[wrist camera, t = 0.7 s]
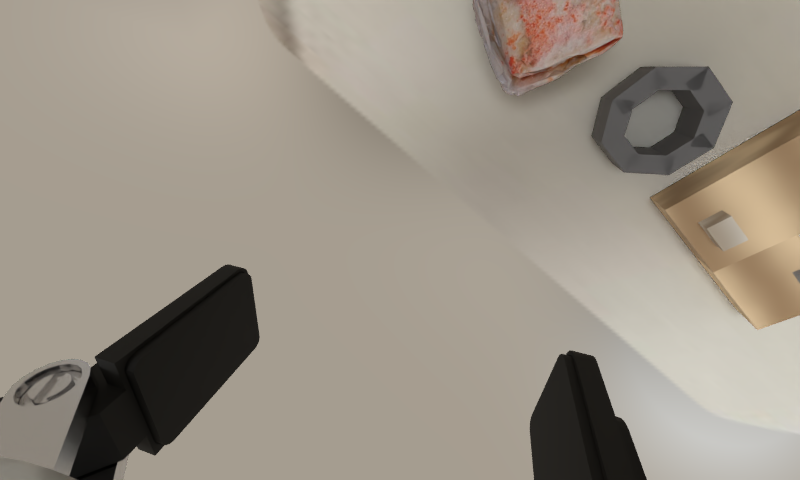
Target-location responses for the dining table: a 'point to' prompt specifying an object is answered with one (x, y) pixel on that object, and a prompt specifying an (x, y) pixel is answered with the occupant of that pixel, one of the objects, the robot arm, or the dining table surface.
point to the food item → (544, 37)
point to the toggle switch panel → (746, 222)
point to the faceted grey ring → (692, 133)
